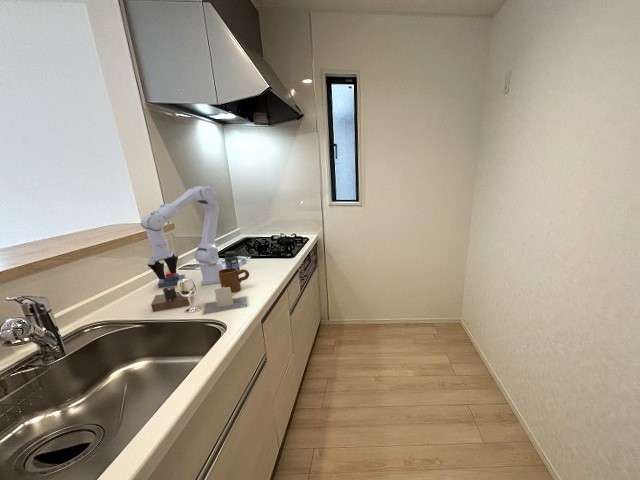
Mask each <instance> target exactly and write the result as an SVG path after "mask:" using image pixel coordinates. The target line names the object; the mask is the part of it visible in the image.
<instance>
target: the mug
mask: <svg viewBox="0 0 640 480" xmlns="http://www.w3.org/2000/svg"><path fill="white" fill-rule="evenodd" d="M241 274H244V276H241V277H240V275H241ZM249 277H250V272H249V270H247V269H244V268H243V269H240V271H237V269H235V268H228V269H227V268H223V270H220V271H219V278H220V282H219V283H220V288H223V287H224V288H226V287H230V289H231V293H237V292H239V291H241V289H242V286H241V283H242V282H243V281H246V280H248V279H249Z"/></svg>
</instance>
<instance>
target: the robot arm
mask: <svg viewBox="0 0 640 480" xmlns="http://www.w3.org/2000/svg"><path fill="white" fill-rule="evenodd" d="M192 202H198V203H199V204H200V205H201V206H202V207H203V208H204V218H203V226H202V233H201V241H200V243H199V244H198V245H197V248H196V250H195V252H194V254H193V255H194V260H196V261H197V262H198V264H199V268H200V272H201V276H202V285H203V286H204V285H205V286H206V285H211V284H212V285H213V284H218V283H220V278H219V271H220V270H223V269H224V267H223V264H222V262H221V261H219V258H220V256H219V253H218V251H219V249H218V248H217V246H216V236H217V227H218V221H219V213H220V205H219V202H218V193H217V192H216V190H215V189H214V188H213V187H212V186H208V185H207V186H206V185H205V186H199V185H193V186H192V187H191V188H188V189H187V190H186V191H185V192H184V193H182V194H181V195H180V196H179V197H177V198H176V199H175V200H173V202H171V203H161V204H159V207H158V208H157V209H155V210H152V211H150V212H149V213H150V214H146V215H144V216H142V218H141V221H140V223H139V224H140V226H141V227H142V228H143V229H144V230H145V232H146V235H147V238H148V239H147V240H148V242H149V246H150V249H151V252H152V255H153V256H152V257H150V258H149V259H147V266H148V268H150V269H151V270H152V271H153V272H154V274H155V275H156V276H157V279H158V280H160V279H165V275H166V274H165V264H166V267H167V269H168V272H170V273H171V274H174V273H177V267H178V266H177V264H178V260H179V256H178V255H177V252H176V251H175V250H170V249H169V245H168V242H167V238H166V235H165V232H164V228H165V226H166V224H167V223H168V222H169V221H171V220H172V219H174V218H175V217H176V216H178V211H179V210H181V209H182V208H184V207H185V206H187V205H188V204H190V203H192ZM162 261H164V262H165V263H164V262H162Z"/></svg>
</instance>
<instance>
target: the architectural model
mask: <svg viewBox="0 0 640 480" xmlns="http://www.w3.org/2000/svg"><path fill="white" fill-rule="evenodd" d="M214 294H215V301H212V302H211V301H210V302H207V303H205V304H204V309H203V315H207V314H211V313H218V312H224V311H229V310H235V309H241V308H245V307H248V304H247V297H246V296H243V297H236V295H237V294H236V292H234V293H231V289H230V287H226V288H224V287H223V288H222V287H220V288H219V287H218V288H214ZM233 297H236V298H233Z"/></svg>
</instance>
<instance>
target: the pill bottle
mask: <svg viewBox="0 0 640 480" xmlns="http://www.w3.org/2000/svg"><path fill="white" fill-rule="evenodd" d="M224 255H225V257H224V263H225V269H228V268H235V269H237V271H240V270H241V269H240V264H239V263H240V262H239V258H238V256H237V255H236V252H235V251H234V250H229V251H226V252H224Z"/></svg>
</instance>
